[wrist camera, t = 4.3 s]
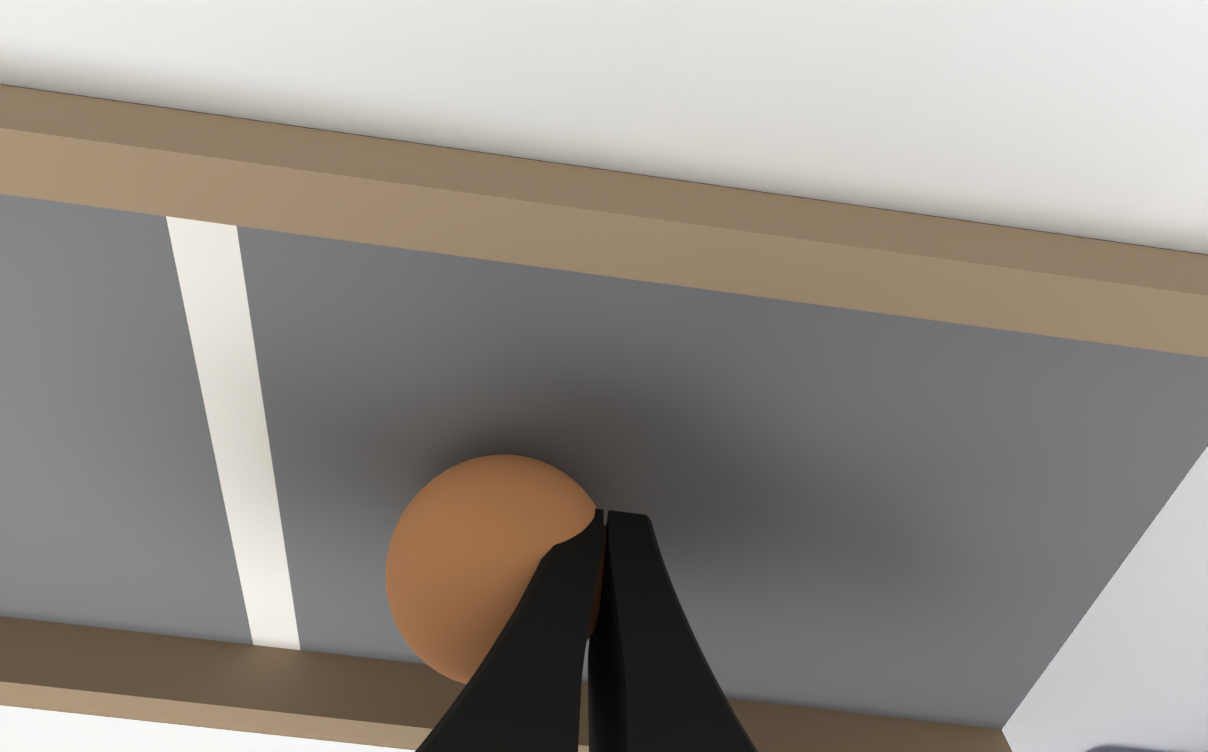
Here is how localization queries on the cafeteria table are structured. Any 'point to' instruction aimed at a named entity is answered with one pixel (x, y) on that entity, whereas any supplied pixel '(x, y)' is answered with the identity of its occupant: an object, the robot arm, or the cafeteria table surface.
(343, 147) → the lane
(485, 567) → the ball
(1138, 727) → the cafeteria table surface
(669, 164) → the cafeteria table surface
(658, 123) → the cafeteria table surface
